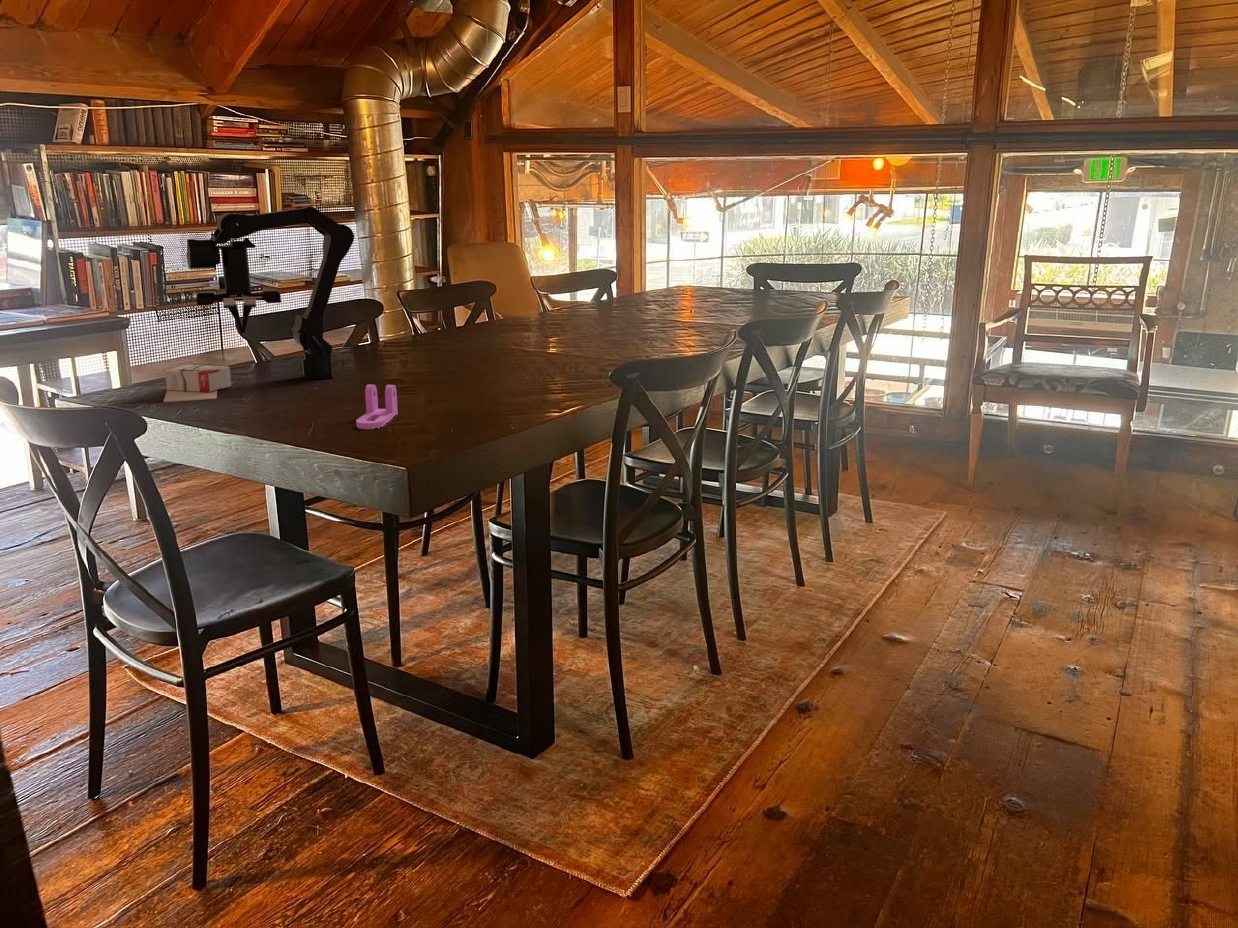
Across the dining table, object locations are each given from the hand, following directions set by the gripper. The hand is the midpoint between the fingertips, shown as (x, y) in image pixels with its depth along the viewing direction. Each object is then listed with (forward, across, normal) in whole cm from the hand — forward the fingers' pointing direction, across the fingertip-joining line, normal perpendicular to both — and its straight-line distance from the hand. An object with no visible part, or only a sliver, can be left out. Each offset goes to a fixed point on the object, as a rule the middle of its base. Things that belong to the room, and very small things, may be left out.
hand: (242, 333), depth 226 cm
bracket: (+13, -24, +51) cm, 58 cm away
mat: (+12, +12, +8) cm, 19 cm away
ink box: (+10, +6, +7) cm, 13 cm away
